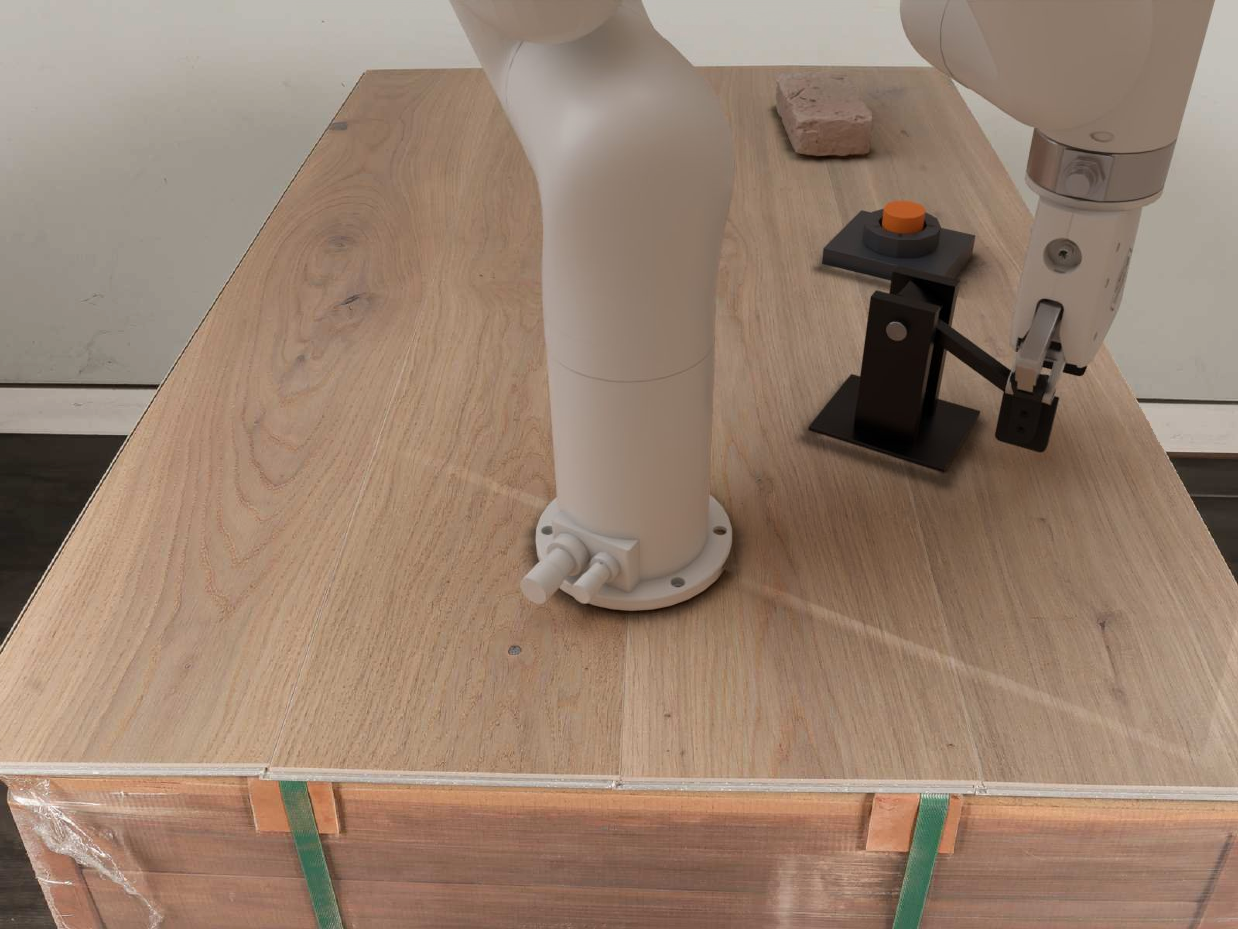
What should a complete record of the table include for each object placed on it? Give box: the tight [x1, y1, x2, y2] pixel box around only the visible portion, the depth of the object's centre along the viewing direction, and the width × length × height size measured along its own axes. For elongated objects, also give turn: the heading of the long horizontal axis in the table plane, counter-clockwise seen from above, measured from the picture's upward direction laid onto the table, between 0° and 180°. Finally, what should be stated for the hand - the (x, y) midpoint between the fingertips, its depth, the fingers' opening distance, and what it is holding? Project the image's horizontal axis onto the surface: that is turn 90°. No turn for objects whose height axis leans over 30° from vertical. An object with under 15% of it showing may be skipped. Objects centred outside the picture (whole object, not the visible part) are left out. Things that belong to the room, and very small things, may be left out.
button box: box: [821, 208, 976, 282], centre depth 100 cm, size 11×9×4 cm
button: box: [882, 200, 927, 234], centre depth 99 cm, size 4×4×2 cm
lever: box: [898, 281, 1050, 393], centre depth 74 cm, size 12×5×2 cm, turn 58°
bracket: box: [807, 266, 981, 473], centre depth 78 cm, size 10×8×12 cm
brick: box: [775, 70, 874, 157], centre depth 126 cm, size 17×8×5 cm, turn 2°
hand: (1041, 405), depth 74 cm, fingers open, 9 cm apart
